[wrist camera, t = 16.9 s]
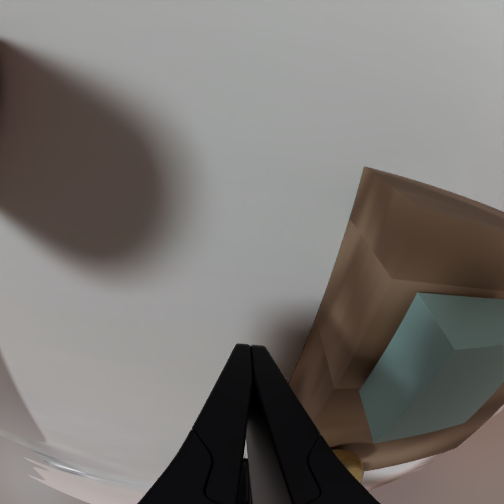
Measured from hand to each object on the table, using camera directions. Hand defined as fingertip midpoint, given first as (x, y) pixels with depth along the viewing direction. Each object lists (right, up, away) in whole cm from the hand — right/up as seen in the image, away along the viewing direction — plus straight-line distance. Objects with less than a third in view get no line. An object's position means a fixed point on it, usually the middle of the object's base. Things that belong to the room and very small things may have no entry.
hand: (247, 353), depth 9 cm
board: (+12, -3, +8) cm, 15 cm away
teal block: (+7, -1, +1) cm, 7 cm away
